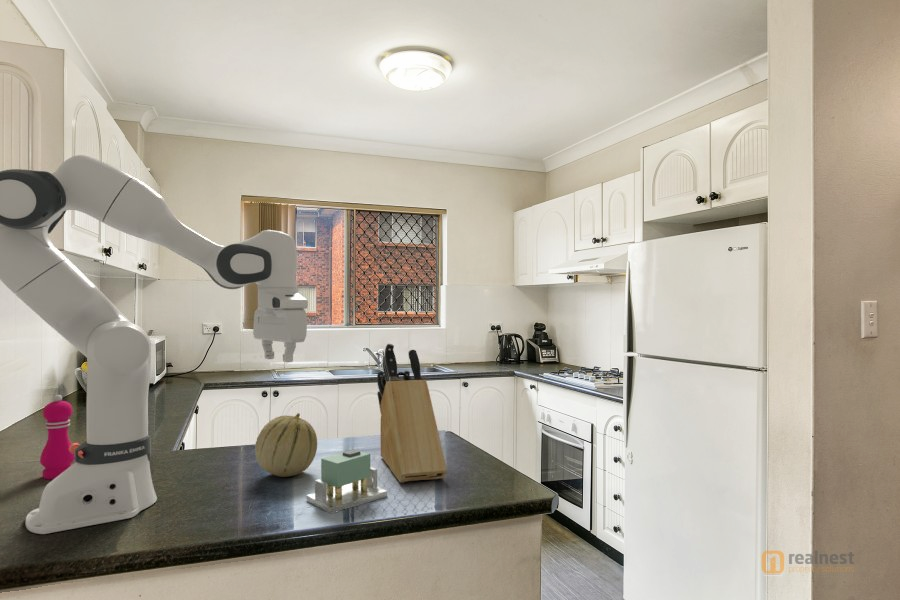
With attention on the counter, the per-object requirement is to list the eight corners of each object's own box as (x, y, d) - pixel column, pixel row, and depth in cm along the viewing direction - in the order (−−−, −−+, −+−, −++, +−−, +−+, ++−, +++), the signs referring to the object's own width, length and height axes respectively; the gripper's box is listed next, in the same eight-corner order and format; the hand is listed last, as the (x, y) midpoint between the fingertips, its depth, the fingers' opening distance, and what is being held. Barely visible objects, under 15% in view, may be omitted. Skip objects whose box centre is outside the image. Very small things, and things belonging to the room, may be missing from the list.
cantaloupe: (243, 476, 133) (243, 415, 133) (295, 462, 144) (294, 406, 144) (277, 489, 123) (277, 423, 123) (330, 473, 134) (329, 413, 134)
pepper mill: (72, 468, 140) (72, 391, 140) (78, 475, 135) (78, 394, 135) (37, 475, 135) (37, 394, 135) (42, 482, 130) (42, 398, 130)
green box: (337, 487, 112) (337, 460, 112) (321, 482, 116) (321, 455, 116) (370, 476, 119) (370, 451, 119) (354, 471, 123) (354, 446, 123)
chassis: (330, 513, 109) (330, 487, 109) (306, 500, 116) (306, 476, 116) (387, 496, 119) (387, 472, 119) (361, 485, 126) (361, 462, 126)
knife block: (412, 445, 160) (411, 341, 160) (448, 483, 127) (447, 351, 127) (374, 448, 157) (373, 342, 157) (401, 488, 123) (400, 352, 123)
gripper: (246, 301, 131) (246, 358, 131) (285, 300, 116) (285, 365, 116) (271, 301, 136) (271, 356, 136) (311, 300, 121) (312, 362, 121)
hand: (278, 360), depth 126 cm, fingers open, 8 cm apart
